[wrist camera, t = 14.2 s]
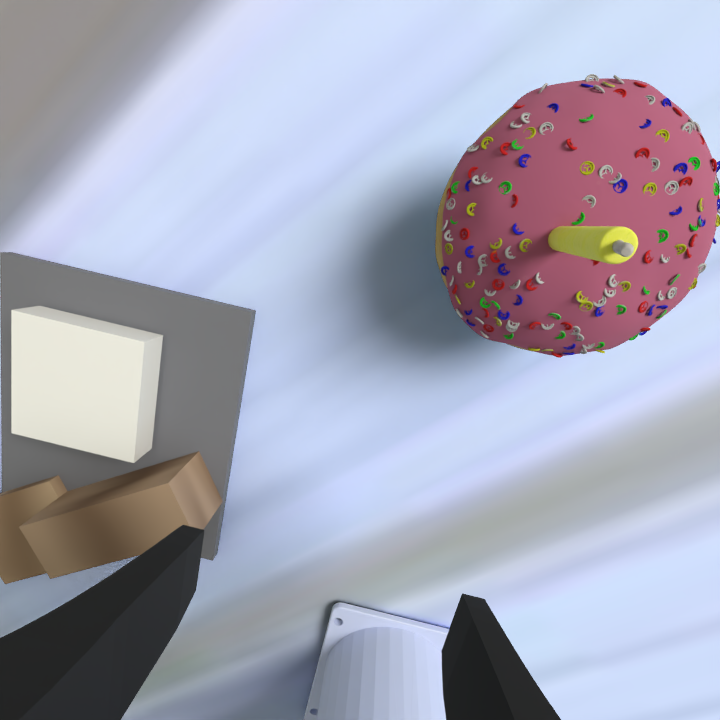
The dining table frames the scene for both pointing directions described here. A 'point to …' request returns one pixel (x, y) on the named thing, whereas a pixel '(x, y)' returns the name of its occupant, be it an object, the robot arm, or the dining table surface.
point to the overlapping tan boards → (101, 517)
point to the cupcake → (578, 217)
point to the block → (83, 382)
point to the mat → (175, 386)
